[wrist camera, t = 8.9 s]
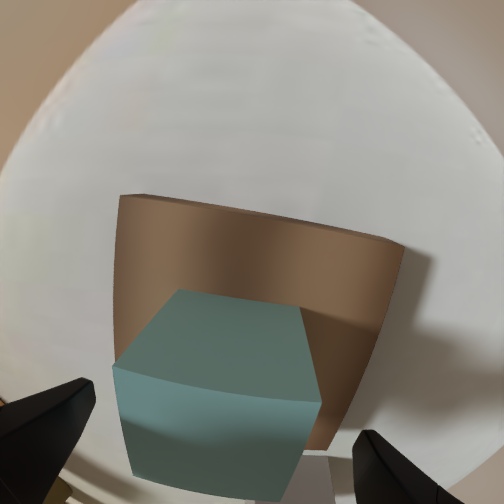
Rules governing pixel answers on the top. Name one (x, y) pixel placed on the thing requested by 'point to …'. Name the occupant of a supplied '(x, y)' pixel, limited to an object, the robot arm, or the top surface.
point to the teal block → (218, 396)
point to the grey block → (308, 483)
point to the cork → (58, 492)
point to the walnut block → (260, 281)
